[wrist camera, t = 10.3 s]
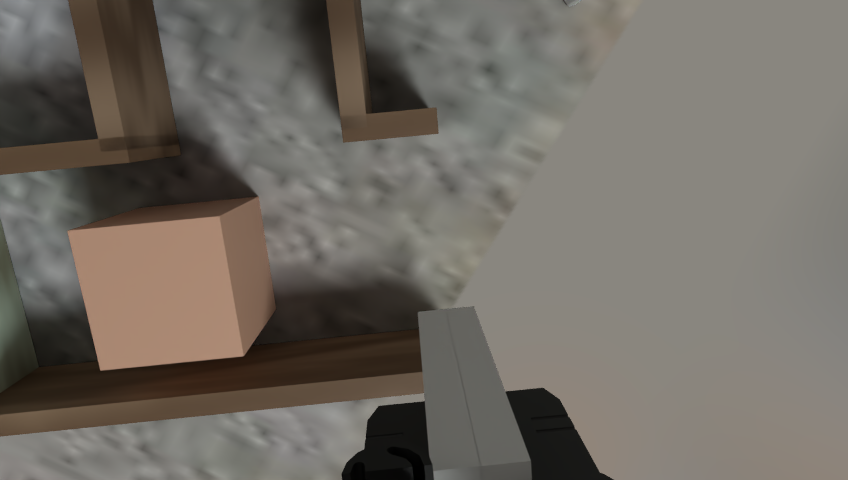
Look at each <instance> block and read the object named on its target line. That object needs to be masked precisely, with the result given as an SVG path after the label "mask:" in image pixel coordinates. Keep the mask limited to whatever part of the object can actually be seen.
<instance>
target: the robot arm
mask: <svg viewBox="0 0 848 480" xmlns="http://www.w3.org/2000/svg"><path fill="white" fill-rule="evenodd" d="M418 322H419V335H420V347H421V360H422V372H423V384H424V397H425V401H424V402H414V403H404V404H394V405H384V406H378V408H377V409H376V410H375V412H374V413H373V414H372V415H371V417H370V418H369V419H368V422H367V431H366V440H365V449H364V450H362V451H360V452H358V453H357V454H356V455H355V456H353V457H352V458H351V459H350V460H349V461H348V462H347V463H346V465H345V468H344V470H343V472H342V480H613V479H612V478H610V477H608V476H606V475H605V474H602V473H600V472H599V470H598V469H597V467H596V465H595V463H594V462H593V460H592V458H591V456H590V454H589V452H588V450H587V449H586V447H585V445H584V443H583V441H582V439H581V438H580V436H579V434H578V432H577V430H575V428H574V425H573V423H572V421H571V419H570V418H569V417H568V414H567V412H566V410H565V408H564V407H563V405H562V403H561V401H560V399H558V398H557V397H555V396H554V395H553V394H551V393H550V392H548V391H547V390H545V389H544V388H537V389H527V390H517V391H507V392H505V390H504V387H503V385H502V381H501V379H500V376H499V373H498V371H497V368H496V365H495V363H494V360H493V357H492V354H491V352H490V349H489V346H488V344H487V341H486V338H485V336H484V333H483V330H482V327H481V325H480V322H479V319H478V317H477V314H476V311H475V309H474V306H472V307H463V308H452V309H441V310H431V311H421V312H418Z"/></svg>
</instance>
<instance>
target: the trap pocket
mask: <svg viewBox="0 0 848 480" xmlns="http://www.w3.org/2000/svg"><path fill="white" fill-rule="evenodd" d="M68 2H69V6H70V11H71V15H72V20H73V25H74V29H75V34H76V39H77V43H78V48H79V52H80V57H81V62H82V66H83V71H84V76H85V80H86V85H87V89H88V94H89V99H90V103H91V108H92V113H93V117H94V122H95V126H96V131H97V136H98V139H103V138H105V139H106V138H108V139H109V138H111V139H112V138H113V140H112V141H114V137H115V138H116V137H125V139H124V138H122V139H123V140H125V141H122V142H123V145H124V143H126V144H125V145H126V146H127V147H126V146H125V145H124V146H122V144H121V143H122V142H121V141H120V143H119V144H121V146H122V147H124V149H123V150H127V149H139V148H149V147H150V145H152V146H153V145H156V146H153V147H160V146H170V145H179V143H178V142H179V141H178V136H177V130H176V125H175V119H174V114H173V109H172V103H171V98H170V92H169V87H168V82H167V76H166V71H165V65H164V60H163V55H162V49H161V44H160V38H159V33H158V28H157V22H156V17H155V11H154V6H153V1H152V0H68ZM326 3H327V12H328V20H329V28H330V36H331V45H332V53H333V61H334V69H335V78H336V86H337V94H338V102H339V110H340V119H341V122H342V121H343V123H344V122H345V123H344V124H343V123H341V124H342V125H341V127H342V126H343V127H342V129H343V128H344V126H345V127H346V129H350V128H351V129H353V128H364V127H366V126H367V119H366V120H365V118H366V114H372V113H373V112H372V102H371V93H370V84H369V75H368V66H367V56H366V47H365V38H364V29H363V20H362V10H361V1H360V0H326ZM343 116H344V117H343ZM350 116H351V117H350ZM354 116H355V117H354ZM357 116H358V117H357ZM341 117H342V118H341ZM347 118H348V119H347ZM345 119H346V120H345ZM351 119H352V120H351ZM348 121H349V122H348ZM361 121H362V122H361ZM351 122H352V123H353V122H354V123H353V124H352V123H351ZM360 122H361V123H362V124H361V123H360ZM347 123H348V124H347ZM365 123H366V124H365ZM345 124H346V125H345ZM357 124H358V125H357ZM359 124H360V125H359ZM353 126H354V127H353ZM344 129H345V128H344ZM108 139H107V141H108ZM117 139H119V138H117ZM169 139H170V140H169ZM109 140H110V139H109ZM115 140H116V139H115ZM133 140H134V141H133ZM158 140H159V141H160V142H159V141H158ZM163 140H164V141H163ZM168 140H169V141H168ZM100 141H101V140H100ZM100 141H99V142H100ZM102 141H103V140H102ZM110 141H111V140H110ZM110 141H109V142H110ZM112 141H111V142H112ZM165 141H166V142H167V143H168V144H167V143H166V142H165ZM109 142H106V143H109ZM116 142H117V140H116ZM116 142H115V143H116ZM148 142H149V143H148ZM157 142H159V143H160V144H159V143H157ZM100 143H101V142H100ZM106 143H104V144H106ZM115 143H114V145H115ZM134 143H135V144H134ZM145 143H146V144H145ZM161 143H163V144H161ZM176 143H177V144H176ZM117 144H118V142H117V143H116V145H117ZM119 144H118V145H119ZM157 144H159V145H160V146H159V145H157ZM164 144H165V145H164ZM169 144H170V145H169ZM106 145H107V144H106ZM109 145H111V146H108V145H107V146H108V147H109V148H110V147H111V149H109V148H108V149H109V150H110V151H111V150H112V151H115V150H113V149H112V148H113V147H114V148H115V149H117V150H116V151H118V148H117V147H119V148H120V149H119V150H122V147H121V146H120V145H119V146H113V143H112V144H111V143H109ZM141 145H142V146H141ZM146 145H147V146H146ZM101 146H103V147H104V146H105V145H101ZM101 146H100V147H101ZM112 146H113V147H112ZM137 146H138V147H137ZM126 148H127V149H126ZM106 149H107V148H106V147H105V149H104V150H106ZM106 151H108V150H106ZM101 152H103V151H102V149H101Z"/></svg>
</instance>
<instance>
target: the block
mask: <svg viewBox="0 0 848 480" xmlns="http://www.w3.org/2000/svg"><path fill="white" fill-rule="evenodd" d="M68 236H69V240H70V244H71V248H72V252H73V257H74V261H75V265H76V269H77V274H78V278H79V282H80V286H81V291H82V295H83V299H84V303H85V307H86V312H87V316H88V320H89V324H90V329H91V333H92V337H93V341H94V345H95V350H96V354H97V358H98V362H99V367H100V371H102V370H112V369H122V368H132V367H142V366H152V365H162V364H172V363H182V362H192V361H202V360H212V359H222V358H232V357H242V356H244V355H245V354H246V352H247V351H248V349H249V348H250V346H251V345H252V344H253V342H254V341H255V339H256V338H257V336H258V335H259V333H260V332H261V330H262V329H263V328H264V326H265V325H266V323H267V322H268V320H269V319H270V317H271V316H272V314H273V313H274V312H275V310H276V304H275V298H274V292H273V285H272V279H271V273H270V266H269V260H268V254H267V247H266V241H265V235H264V228H263V222H262V216H261V209H260V203H259V197H248V198H238V199H227V200H217V201H206V202H196V203H185V204H175V205H165V206H154V207H144V208H137V209H134V210H131V211H128V212H125V213H122V214H118V215H115V216H112V217H109V218H106V219H103V220H100V221H96V222H93V223H90V224H87V225H84V226H81V227H78V228H75V229H71V230H68Z"/></svg>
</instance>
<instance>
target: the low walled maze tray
mask: <svg viewBox="0 0 848 480" xmlns="http://www.w3.org/2000/svg"><path fill="white" fill-rule="evenodd" d="M343 117H344V116H343ZM350 117H351V116H350ZM354 117H355V116H354ZM357 117H358V116H357ZM341 118H342V117H341ZM347 119H348V118H347ZM366 119H367V126H366V127H364V128H353V129H351V128H350V129H346V127H345V126H344V128H345V129H344V128H343V129H342V135H343V143H344V142H354V141H365V140H376V139H386V138H397V137H407V136H418V135H429V134H439V132H438V120H437V109H436V108H426V109H415V110H404V111H393V112H383V113H372V114H366V118H365V120H366ZM345 120H346V119H345ZM351 120H352V119H351ZM348 122H349V121H348ZM361 122H362V121H361ZM361 122H360V123H361ZM341 123H343V121H342V122H341ZM344 123H345V122H344ZM344 123H343V124H344ZM351 123H352V122H351ZM353 123H354V122H353ZM353 123H352V124H353ZM347 124H348V123H347ZM361 124H362V123H361ZM365 124H366V123H365ZM341 125H342V124H341ZM345 125H346V124H345ZM357 125H358V124H357ZM359 125H360V124H359ZM342 127H343V126H342ZM353 127H354V126H353ZM117 138H119V139H117ZM122 138H124V139H125V137H116V138H115V137H114V141H112V140H113V138H112V139H111V138H109V139H110V140H111V141H112V142H111V141H110V140H109V139H108V138H106V139H105V138H103V139H93V140H82V141H71V142H60V143H50V144H39V145H28V146H17V147H7V148H0V175H3V174H14V173H24V172H35V171H46V170H56V169H67V168H77V167H88V166H99V165H109V164H120V163H130V162H137V161H144V160H151V159H158V158H165V157H172V156H179V155H181V152H180V146H179V145H170V144H169V145H170V146H160V145H159V144H160V143H159V142H160V141H159V140H158V141H159V142H157V143H159V144H157V145H159V146H160V147H153V146H156V145H153V146H152V145H150V147H149V148H139V149H127V148H126V149H127V150H123V149H124V147H122V146H124V145H125V144H126V143H124V145H123V142H122V141H125V140H123V139H122ZM107 139H108V141H107ZM115 139H116V140H117V142H118V144H119V143H120V141H121V142H122V143H121V144H122V146H121V144H119V145H120V146H121V147H122V150H119V149H120V148H119V147H117V148H118V151H116V150H117V149H115V148H114V147H113V146H119V145H118V144H117V145H116V143H117V142H116V140H115ZM100 140H101V141H100ZM102 140H103V141H102ZM169 140H170V139H169ZM169 140H168V141H169ZM99 141H100V142H101V143H100V142H99ZM109 141H110V142H109ZM133 141H134V140H133ZM163 141H164V140H163ZM106 142H109V143H111V144H112V143H113V146H112V147H113V148H112V149H113V150H115V151H112V150H111V151H110V150H109V149H111V147H110V148H109V147H108V146H111V145H109V143H106ZM115 142H116V143H115ZM165 142H166V141H165ZM104 143H106V144H107V145H108V146H107V145H106V144H104ZM114 143H115V145H114ZM148 143H149V142H148ZM166 143H167V142H166ZM178 143H179V142H178ZM134 144H135V143H134ZM145 144H146V143H145ZM161 144H163V143H161ZM167 144H168V143H167ZM176 144H177V143H176ZM101 145H105V146H104V147H103V146H101ZM164 145H165V144H164ZM100 146H101V147H100ZM125 146H126V145H125ZM141 146H142V145H141ZM146 146H147V145H146ZM105 147H106V148H107V149H106V150H108V151H106V150H104V149H105ZM126 147H127V146H126ZM137 147H138V146H137ZM108 148H109V149H108ZM101 149H102V151H103V152H101ZM420 393H424V384H423V372H422V360H421V347H420V335H419V329H414V330H404V331H394V332H384V333H374V334H364V335H354V336H344V337H334V338H324V339H314V340H304V341H294V342H284V343H274V344H264V345H254V346H250V348H249V349H248V351H247V352H246V354H245V355H244V356H242V357H232V358H222V359H212V360H202V361H192V362H182V363H172V364H162V365H152V366H142V367H132V368H122V369H112V370H102V371H100V367H99V362H98V361H94V362H84V363H74V364H64V365H54V366H44V367H39V365H38V361H37V357H36V354H35V350H34V346H33V342H32V338H31V335H30V331H29V327H28V323H27V319H26V316H25V312H24V308H23V304H22V300H21V296H20V293H19V289H18V285H17V281H16V277H15V274H14V270H13V266H12V262H11V258H10V255H9V251H8V247H7V243H6V239H5V236H4V232H3V228H2V224H1V220H0V436H9V435H19V434H29V433H39V432H48V431H58V430H68V429H78V428H88V427H97V426H107V425H117V424H127V423H137V422H146V421H156V420H166V419H176V418H185V417H195V416H205V415H215V414H225V413H234V412H244V411H254V410H264V409H273V408H283V407H293V406H303V405H313V404H322V403H332V402H342V401H352V400H361V399H371V398H381V397H391V396H401V395H410V394H420Z"/></svg>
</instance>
